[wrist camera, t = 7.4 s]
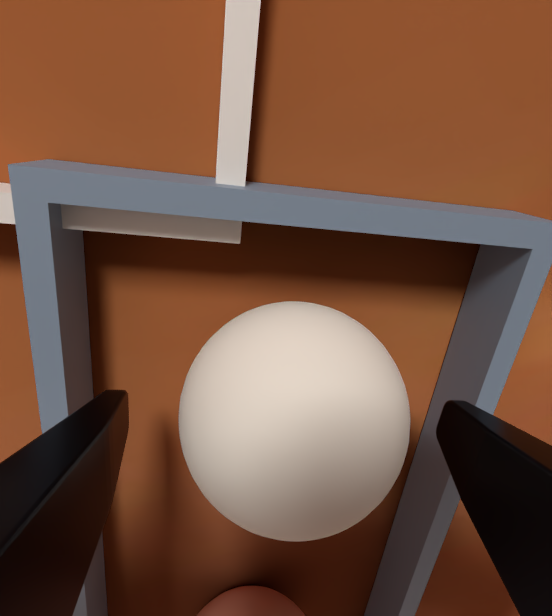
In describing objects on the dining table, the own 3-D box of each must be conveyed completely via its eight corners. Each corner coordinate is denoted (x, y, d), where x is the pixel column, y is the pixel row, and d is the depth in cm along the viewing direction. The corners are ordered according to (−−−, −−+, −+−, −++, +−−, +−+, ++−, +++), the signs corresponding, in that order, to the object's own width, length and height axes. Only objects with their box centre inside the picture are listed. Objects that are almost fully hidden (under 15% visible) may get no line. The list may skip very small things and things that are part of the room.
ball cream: (382, 279, 11) (499, 384, 6) (347, 429, 13) (418, 595, 8) (191, 264, 10) (165, 372, 5) (185, 427, 12) (161, 609, 7)
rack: (513, 210, 10) (567, 224, 9) (364, 652, 18) (379, 706, 16) (48, 159, 9) (8, 164, 7) (95, 672, 16) (80, 734, 14)
